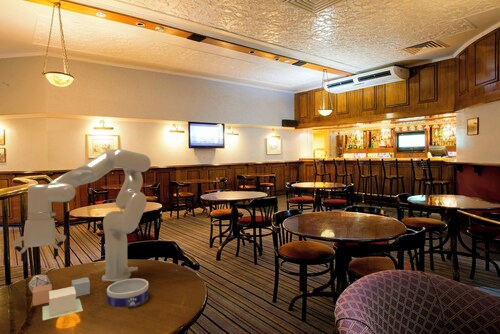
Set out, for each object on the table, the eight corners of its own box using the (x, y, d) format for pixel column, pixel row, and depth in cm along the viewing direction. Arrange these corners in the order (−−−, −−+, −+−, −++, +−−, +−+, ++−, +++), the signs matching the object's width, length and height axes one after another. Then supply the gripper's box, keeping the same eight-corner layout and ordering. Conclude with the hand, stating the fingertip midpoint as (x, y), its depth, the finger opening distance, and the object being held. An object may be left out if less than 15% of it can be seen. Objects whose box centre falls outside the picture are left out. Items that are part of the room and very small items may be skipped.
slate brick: (88, 291, 129) (87, 277, 129) (89, 296, 124) (89, 281, 124) (71, 294, 125) (71, 280, 125) (72, 299, 120) (72, 284, 120)
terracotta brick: (51, 298, 121) (51, 284, 121) (51, 304, 116) (51, 289, 116) (33, 302, 118) (33, 287, 118) (32, 308, 113) (32, 292, 113)
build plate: (79, 301, 119) (79, 298, 119) (82, 313, 109) (82, 310, 109) (42, 309, 112) (42, 306, 112) (42, 323, 102) (42, 320, 102)
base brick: (74, 301, 116) (73, 286, 116) (76, 309, 110) (75, 293, 110) (49, 307, 112) (49, 291, 112) (49, 316, 105) (49, 299, 105)
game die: (40, 303, 125) (34, 290, 119) (24, 294, 127) (18, 281, 121) (58, 286, 132) (54, 272, 126) (43, 278, 134) (38, 264, 128)
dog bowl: (117, 313, 109) (117, 297, 109) (100, 301, 120) (100, 285, 120) (155, 300, 120) (155, 284, 120) (137, 289, 131) (137, 275, 131)
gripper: (65, 213, 125) (65, 254, 125) (12, 217, 115) (12, 261, 116) (66, 215, 119) (66, 259, 119) (10, 220, 109) (10, 267, 109)
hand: (40, 260), depth 117 cm, fingers open, 9 cm apart
